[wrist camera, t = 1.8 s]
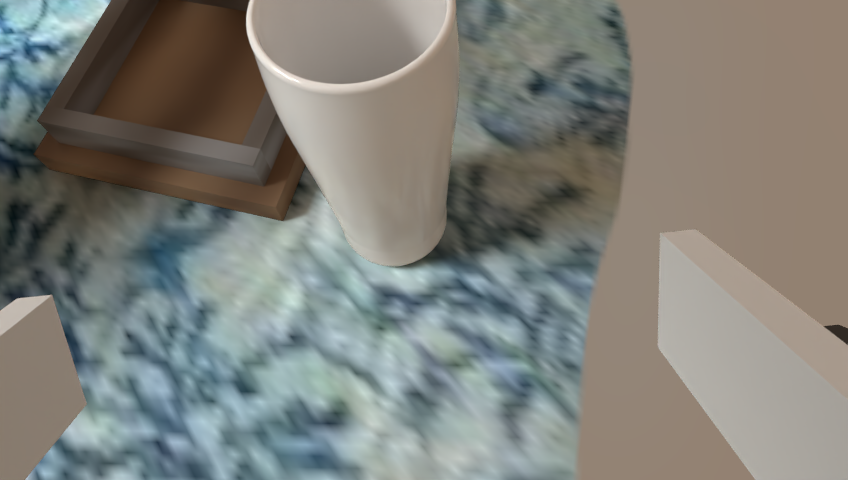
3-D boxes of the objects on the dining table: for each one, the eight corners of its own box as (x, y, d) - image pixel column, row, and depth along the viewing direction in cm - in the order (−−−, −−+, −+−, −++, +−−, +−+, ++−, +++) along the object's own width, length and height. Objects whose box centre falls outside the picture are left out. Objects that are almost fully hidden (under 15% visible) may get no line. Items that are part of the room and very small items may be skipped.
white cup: (349, 158, 36) (280, -82, 22) (472, 177, 35) (477, -61, 21) (314, 271, 33) (210, 75, 19) (446, 295, 32) (433, 108, 18)
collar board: (49, 169, 37) (10, 133, 33) (155, -13, 42) (130, -59, 39) (283, 221, 34) (264, 187, 31) (362, 21, 40) (353, -24, 37)
